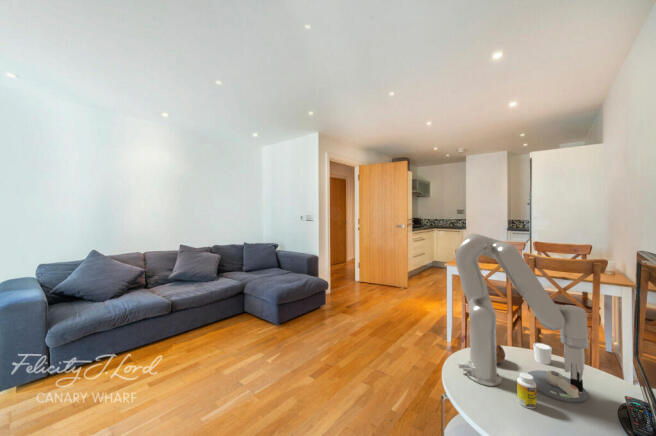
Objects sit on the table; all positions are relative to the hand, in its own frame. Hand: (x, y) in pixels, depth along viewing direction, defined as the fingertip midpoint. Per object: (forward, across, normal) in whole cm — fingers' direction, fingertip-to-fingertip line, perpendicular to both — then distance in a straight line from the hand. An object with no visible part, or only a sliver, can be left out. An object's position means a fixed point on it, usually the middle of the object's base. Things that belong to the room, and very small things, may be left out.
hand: (577, 389), depth 97 cm
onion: (+2, -6, -29) cm, 30 cm away
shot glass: (+3, -22, -13) cm, 25 cm away
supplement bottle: (+3, +17, -12) cm, 21 cm away
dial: (+3, -2, -6) cm, 7 cm away
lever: (+1, 0, -4) cm, 4 cm away
